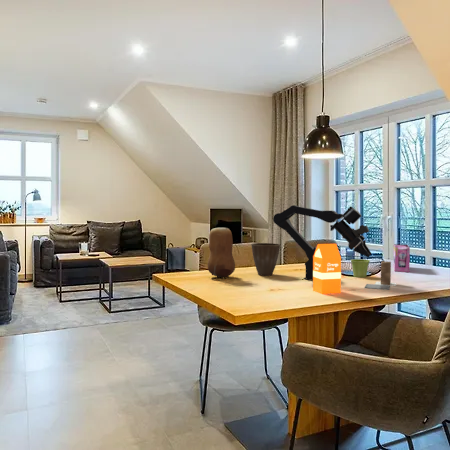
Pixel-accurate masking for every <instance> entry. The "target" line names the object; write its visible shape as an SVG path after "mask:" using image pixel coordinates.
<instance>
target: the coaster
mask: <svg viewBox="0 0 450 450" xmlns="http://www.w3.org/2000/svg"><path fill="white" fill-rule="evenodd" d="M390 288H391V286H390V285H376V284H375V283H366V284H365V286H364V289H370V290H381V291H382V290H384V291H390Z"/></svg>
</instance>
